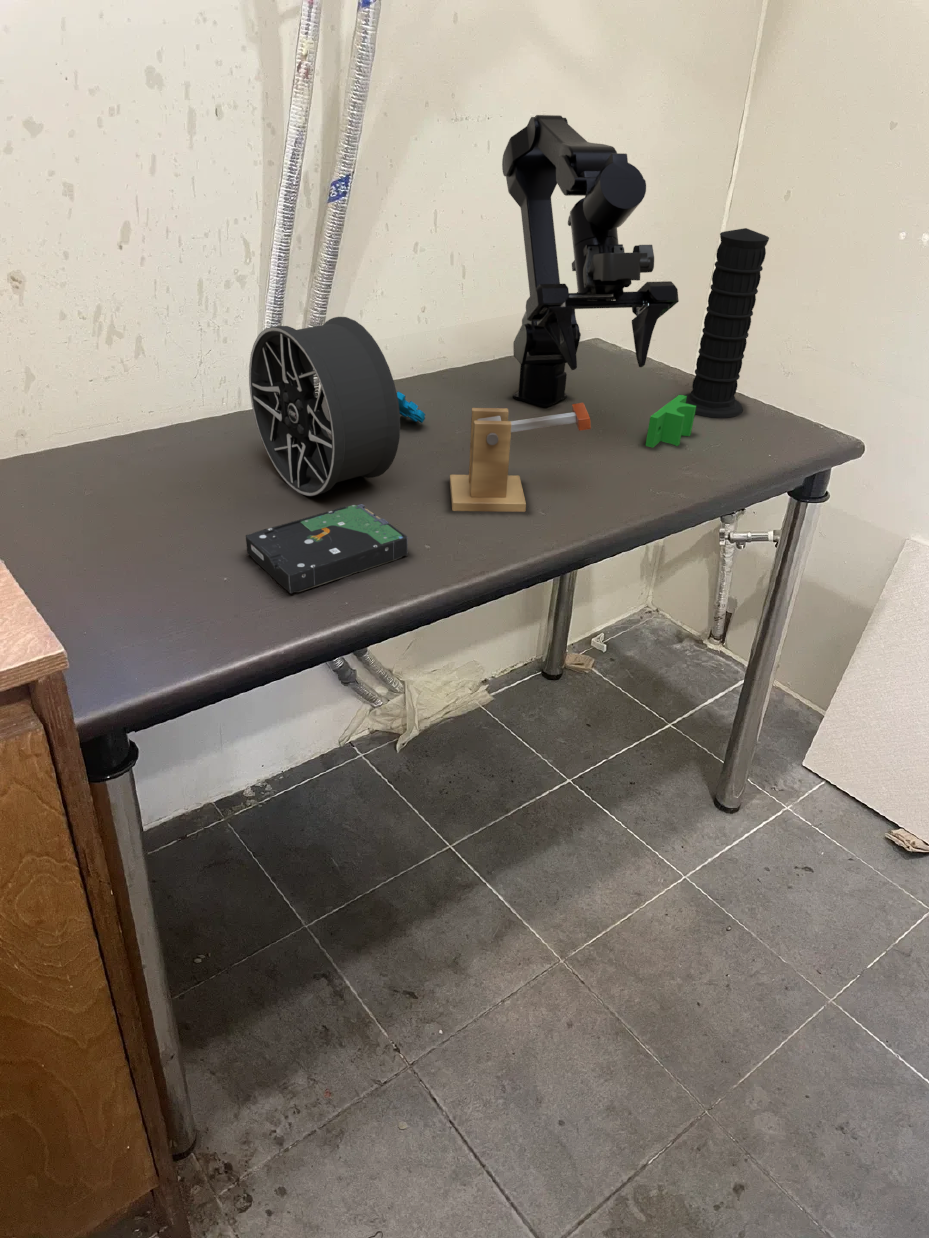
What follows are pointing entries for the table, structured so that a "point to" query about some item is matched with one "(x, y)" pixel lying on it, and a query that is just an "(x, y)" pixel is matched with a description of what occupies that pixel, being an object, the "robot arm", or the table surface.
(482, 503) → the bracket
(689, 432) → the pipe clamp
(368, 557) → the disk drive
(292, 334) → the wheel rim
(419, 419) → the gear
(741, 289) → the handle grip
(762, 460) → the table surface
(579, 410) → the lever
